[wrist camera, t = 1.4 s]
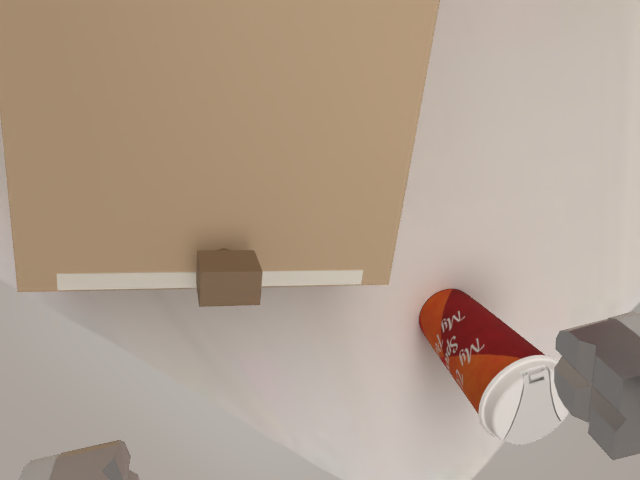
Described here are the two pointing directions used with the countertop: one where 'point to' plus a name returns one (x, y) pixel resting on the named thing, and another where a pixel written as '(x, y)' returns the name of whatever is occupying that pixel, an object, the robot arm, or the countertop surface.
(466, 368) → the paper cup
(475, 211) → the countertop surface
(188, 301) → the countertop surface
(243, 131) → the lid flap
